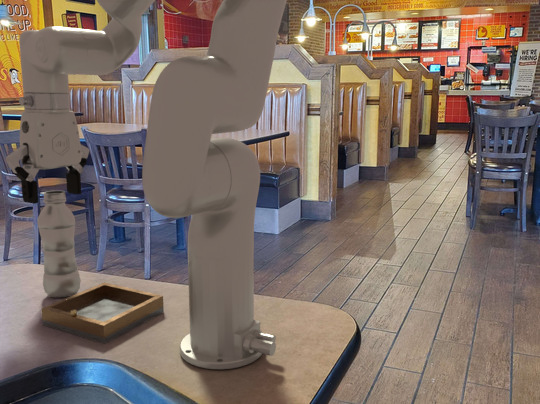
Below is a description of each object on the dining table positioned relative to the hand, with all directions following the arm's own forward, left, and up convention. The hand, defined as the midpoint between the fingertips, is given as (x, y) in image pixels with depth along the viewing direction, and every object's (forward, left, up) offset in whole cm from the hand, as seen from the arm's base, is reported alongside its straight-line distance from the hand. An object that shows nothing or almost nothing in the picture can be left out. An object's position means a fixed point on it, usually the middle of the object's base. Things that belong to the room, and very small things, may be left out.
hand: (53, 197), depth 99 cm
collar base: (-16, +4, -19) cm, 25 cm away
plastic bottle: (-1, 0, -19) cm, 19 cm away
